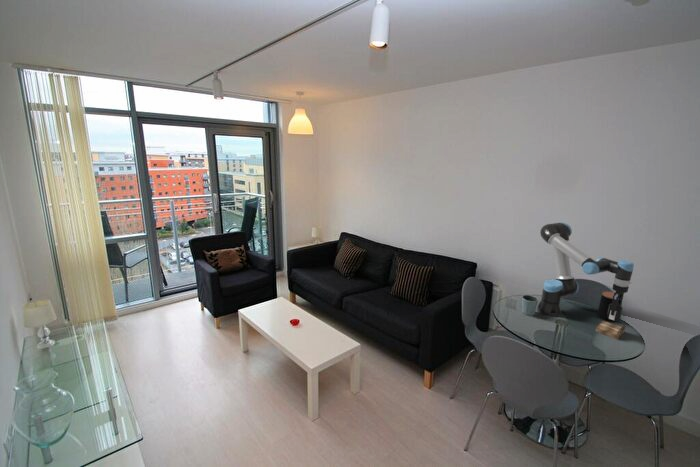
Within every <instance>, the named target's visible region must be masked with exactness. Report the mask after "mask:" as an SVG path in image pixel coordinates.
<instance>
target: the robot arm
mask: <svg viewBox="0 0 700 467" xmlns="http://www.w3.org/2000/svg"><path fill="white" fill-rule="evenodd" d="M572 230H573V229H572V227H571V226H570V225H569V224H568V223H566V222H555V223H547V224H545V225H543V226H542V227H541V229H540V230H539V231H540V232H539V234H540V237H541V238H542V240H544V241H545V243H547V244H549V245H552V246H553V253H554V260H555V269H556V276H555V278H554V279H552V278H551V279H546V280H545V281H544V283H543V287H542V292H541V299H540V301H538V303H537V306H536V311H537V312H539V313H540V314H541V315H545V316H548V317H559V316H561V314H562V308H561V304H560V303H561V299H562V298H566V297H570V296H573V295H576V294H577V293H578V292H579V290H580V285H579V282H577V280H576V279H575V277H574V276H573V275H572V270H571V263H570V262H571V261H570V259H571V260H573V261H574V262H575V263H576V264H577V265H579V266H580V267H581V268H582V270H583V273H585V274H586V275H596V274H600V273H605V272H608V273H610V274H614V275H615V276H614V279H613V284H612V290H613V291H615V292H613V293H614V296H613V300H612V304H611V308H610V310H611V311H610V315H609V319H611V320H614V319H615V315H616V309H617V306H618V303H619V301H621V302H622V303H623V300H624V295H625V294H626V293H628V291H629V288H630V287H629V286H630V284H632V282H631V279H632V276H633V272H634V267H635V263H633V262H632V261H629V260H625V259H621V260H618V261H615V260H612V259H608V258H606V257H601V256H600V257H598V258H597V259H595V260H594V259H593V258H592V257H590V256H588V255H587V253H584V252H583V251H581V249H579V248H577V247H576V246H575V245H573V244H572V243H570V242H569V241H570V236H571V235H572Z"/></svg>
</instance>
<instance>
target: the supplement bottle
mask: <svg viewBox="0 0 700 467" xmlns="http://www.w3.org/2000/svg"><path fill="white" fill-rule="evenodd" d="M611 304H612V303H611ZM611 304H610V305H609V308H608V313H607V317H608V318H609V315H610V311H611V310H610V308H611ZM623 309H624V307H623V301H622V302H621V301H619V303H618V306H617V309H616V315H615V319H614V320H615V321H620V320H621V317H622V315H623V314H622V313H623Z"/></svg>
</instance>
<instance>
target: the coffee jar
mask: <svg viewBox="0 0 700 467" xmlns="http://www.w3.org/2000/svg"><path fill="white" fill-rule="evenodd" d="M614 293H615V292H614V291H607V290H606V291H602V292H601V296H600V301H599V304H598V309H597V317H598V316H599V317H600V319H601V318H602V319H601V320H602V321H606V322H614V321H616V320H611V319H609V318H608V317H607V313H608V308H609V305H610V304H611V303H612V300H613V296H614ZM599 317H598V318H599Z"/></svg>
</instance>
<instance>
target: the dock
mask: <svg viewBox="0 0 700 467" xmlns="http://www.w3.org/2000/svg"><path fill="white" fill-rule="evenodd" d="M625 331H626V325H624V324H623V325H622V326H619V325H617V324H613V323H612V322H611V323H610V322H609V321H606V320H602V321H601V322H600V323H599V324H598V325H597V326H596V327H595V332H596V333H600V334H601V335H604V336H607V337H610V338H612V339H615V340H617V341H618V340H619V339H620V338H621V337H622V336H623V334H624V333H625Z"/></svg>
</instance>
